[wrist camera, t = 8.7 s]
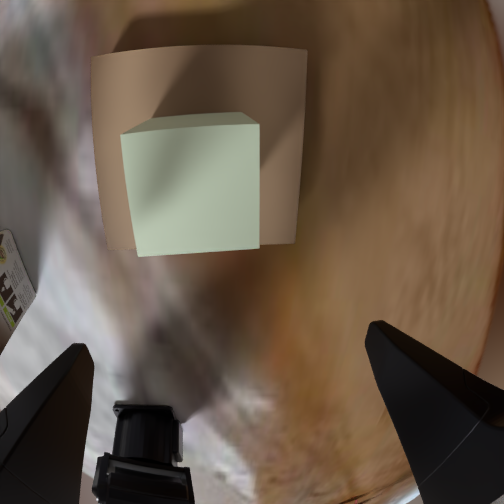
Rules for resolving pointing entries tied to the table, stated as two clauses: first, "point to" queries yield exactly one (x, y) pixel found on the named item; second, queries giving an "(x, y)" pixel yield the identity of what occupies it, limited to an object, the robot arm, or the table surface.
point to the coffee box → (12, 288)
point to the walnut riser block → (200, 102)
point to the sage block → (193, 183)
